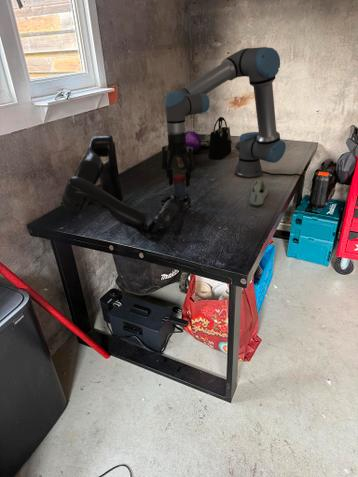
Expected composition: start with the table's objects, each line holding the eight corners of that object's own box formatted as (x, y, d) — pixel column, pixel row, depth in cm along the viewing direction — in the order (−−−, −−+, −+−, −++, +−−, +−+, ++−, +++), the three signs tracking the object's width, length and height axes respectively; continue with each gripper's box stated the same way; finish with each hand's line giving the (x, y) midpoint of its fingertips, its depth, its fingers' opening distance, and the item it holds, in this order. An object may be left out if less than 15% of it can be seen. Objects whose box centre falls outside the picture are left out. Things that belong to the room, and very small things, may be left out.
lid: (173, 178, 148) (172, 174, 147) (185, 178, 148) (184, 173, 147) (173, 183, 143) (172, 178, 142) (185, 182, 143) (185, 177, 142)
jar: (174, 209, 154) (171, 177, 146) (182, 206, 156) (181, 175, 148) (178, 212, 150) (176, 180, 142) (187, 210, 152) (186, 178, 144)
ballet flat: (269, 188, 169) (270, 173, 165) (265, 208, 149) (266, 191, 145) (252, 187, 171) (253, 172, 167) (246, 206, 151) (247, 190, 147)
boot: (194, 157, 223) (193, 127, 213) (188, 169, 203) (187, 135, 193) (182, 157, 225) (180, 127, 215) (174, 168, 205) (172, 136, 194)
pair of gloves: (198, 150, 238) (197, 143, 235) (183, 143, 258) (183, 136, 256) (233, 144, 247) (234, 137, 245) (217, 137, 268) (217, 131, 265)
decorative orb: (204, 151, 235) (204, 129, 228) (194, 156, 225) (193, 134, 217) (186, 149, 243) (186, 128, 235) (175, 154, 232) (174, 132, 224)
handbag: (219, 160, 215) (219, 120, 202) (207, 158, 219) (206, 119, 207) (232, 152, 230) (233, 114, 217) (220, 150, 234) (221, 113, 222)
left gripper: (155, 217, 142) (167, 201, 156) (187, 220, 138) (197, 203, 152) (154, 201, 138) (166, 186, 152) (186, 203, 134) (196, 188, 148)
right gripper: (202, 131, 135) (203, 184, 146) (158, 129, 142) (162, 180, 153) (196, 135, 129) (197, 190, 140) (150, 133, 136) (155, 185, 148)
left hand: (181, 195), depth 152 cm, fingers closed on jar, 4 cm apart
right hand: (179, 185), depth 147 cm, fingers open, 7 cm apart
